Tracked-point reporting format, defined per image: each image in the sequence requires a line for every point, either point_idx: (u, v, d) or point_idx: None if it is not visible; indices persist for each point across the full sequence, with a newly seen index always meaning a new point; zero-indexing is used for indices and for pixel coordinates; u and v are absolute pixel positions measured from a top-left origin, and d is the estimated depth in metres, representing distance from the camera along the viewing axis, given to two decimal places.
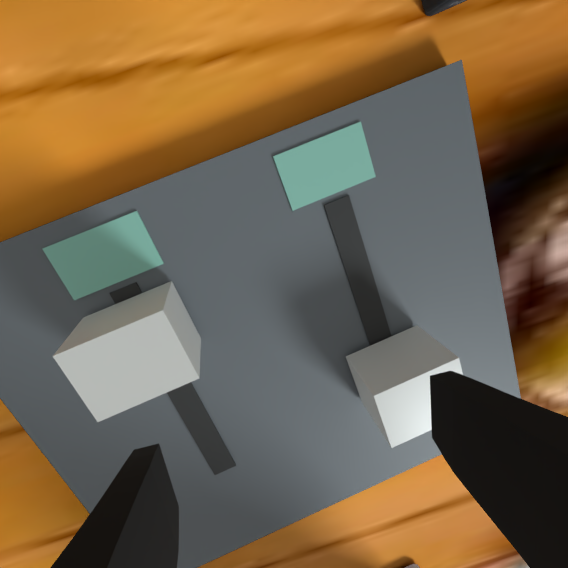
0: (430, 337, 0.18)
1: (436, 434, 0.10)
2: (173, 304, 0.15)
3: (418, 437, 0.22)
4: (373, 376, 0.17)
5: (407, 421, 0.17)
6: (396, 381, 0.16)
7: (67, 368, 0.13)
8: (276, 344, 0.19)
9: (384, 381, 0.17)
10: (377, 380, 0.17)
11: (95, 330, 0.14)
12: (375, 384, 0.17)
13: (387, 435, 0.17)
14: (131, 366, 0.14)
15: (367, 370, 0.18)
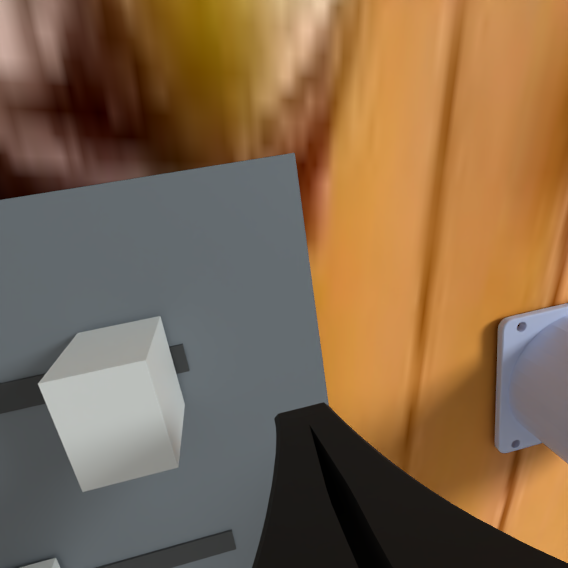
0: None
1: None
2: None
3: (271, 328, 0.16)
4: None
5: (138, 449, 0.12)
6: (72, 455, 0.12)
7: None
8: None
9: None
10: None
11: None
12: None
13: (156, 471, 0.12)
14: None
15: None
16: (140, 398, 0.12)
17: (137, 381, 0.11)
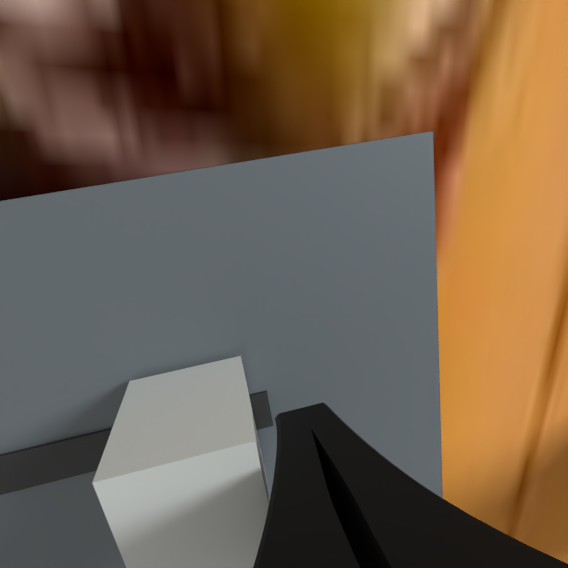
0: None
1: None
2: None
3: (381, 367, 0.12)
4: None
5: (232, 565, 0.08)
6: None
7: None
8: None
9: None
10: None
11: None
12: None
13: None
14: None
15: None
16: (242, 495, 0.08)
17: (240, 472, 0.08)
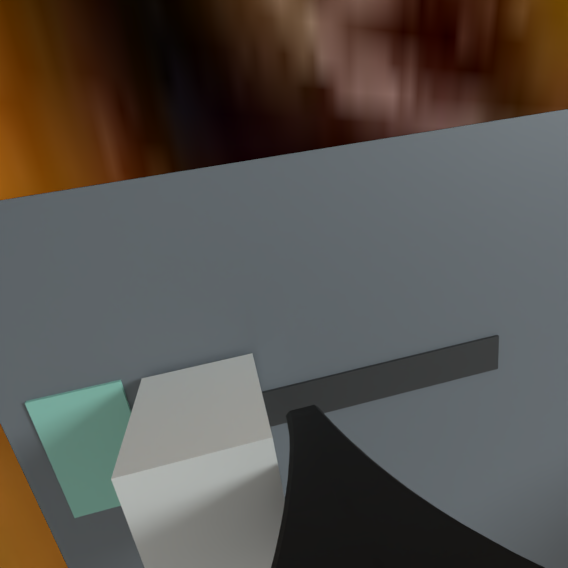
0: None
1: None
2: None
3: None
4: None
5: (248, 561, 0.08)
6: None
7: None
8: None
9: None
10: None
11: None
12: None
13: None
14: None
15: None
16: (259, 491, 0.08)
17: (257, 468, 0.08)
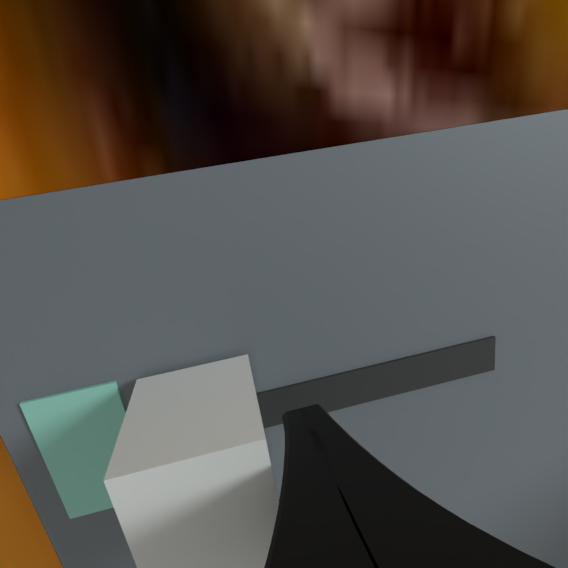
0: None
1: None
2: None
3: None
4: None
5: (242, 563, 0.08)
6: None
7: None
8: None
9: None
10: None
11: None
12: None
13: None
14: None
15: None
16: (252, 493, 0.08)
17: (250, 469, 0.07)
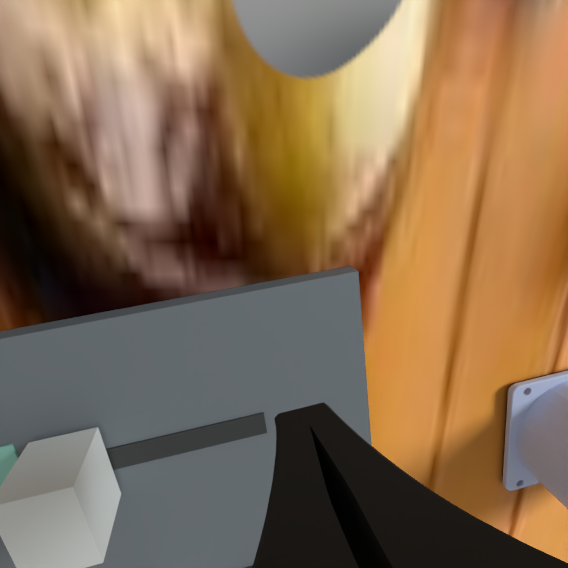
0: (14, 467, 0.16)
1: None
2: None
3: (332, 398, 0.20)
4: None
5: (69, 551, 0.15)
6: (16, 556, 0.15)
7: None
8: (175, 523, 0.20)
9: None
10: None
11: None
12: None
13: (85, 566, 0.16)
14: None
15: None
16: (69, 514, 0.15)
17: (66, 502, 0.15)
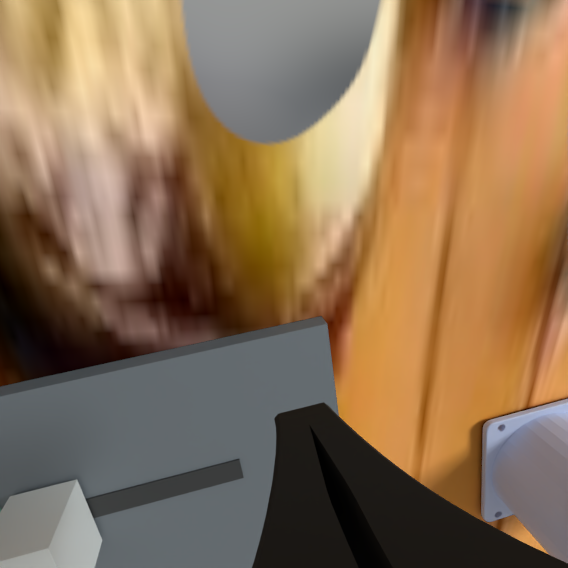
0: None
1: None
2: None
3: None
4: None
5: None
6: None
7: None
8: (157, 565, 0.21)
9: None
10: None
11: None
12: None
13: None
14: None
15: None
16: None
17: (43, 562, 0.15)
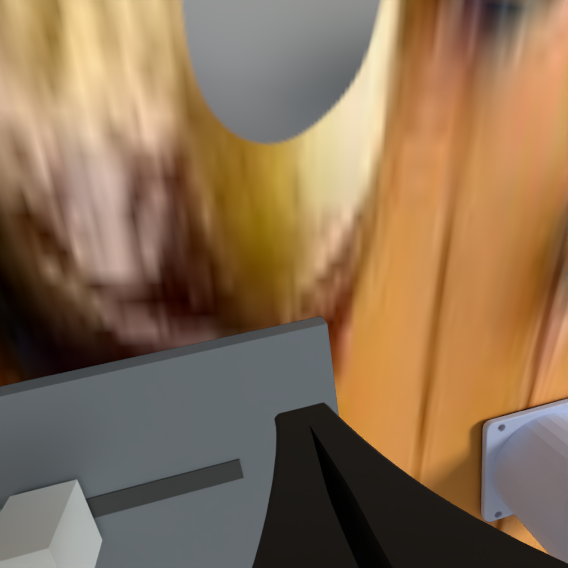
0: None
1: None
2: None
3: None
4: None
5: None
6: None
7: None
8: (157, 565, 0.21)
9: None
10: None
11: None
12: None
13: None
14: None
15: None
16: None
17: (43, 562, 0.15)
